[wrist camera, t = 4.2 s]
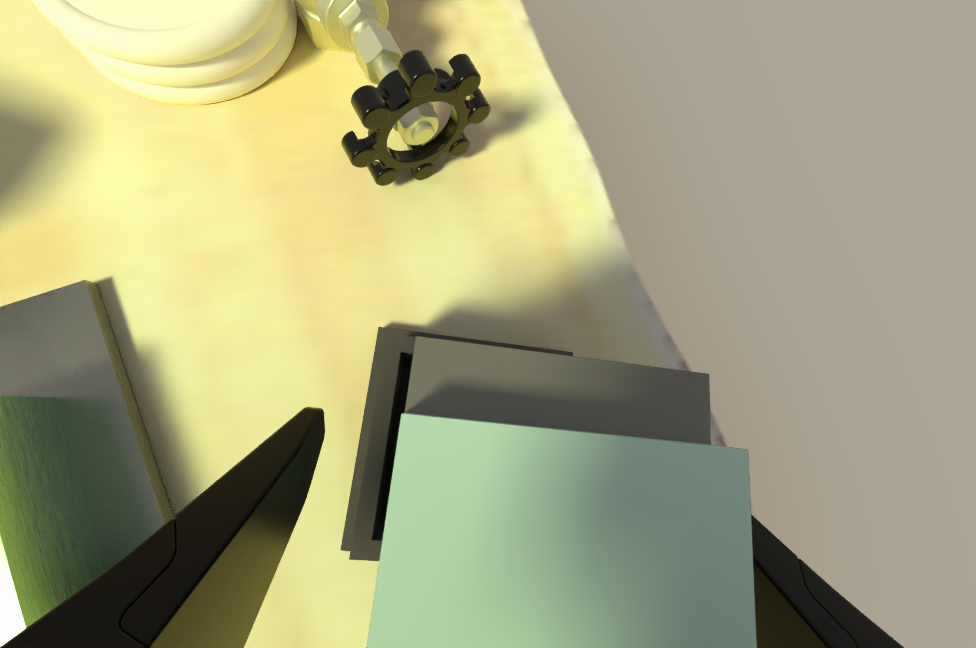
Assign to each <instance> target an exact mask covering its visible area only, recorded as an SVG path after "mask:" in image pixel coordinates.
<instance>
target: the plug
mask: <svg viewBox="0 0 976 648" xmlns="http://www.w3.org/2000/svg"><path fill="white" fill-rule="evenodd" d="M709 394H710V392H709V374H705V373H697V372H689V371H682V370H674V369H666V368H658V367H651V366H643V365H635V364H628V363H620V362H612V361H605V360H597V359H589V358H581V357H574V356H566V355H558V354H551V353H543V352H535V351H528V350H520V349H512V348H504V347H497V346H489V345H481V344H474V343H466V342H458V341H451V340H443V339H435V338H427V337H420V336H416V339H415V346H414V353H413V359H412V366H411V373H410V380H409V386H408V393H407V400H406V407H405V413H402V414H401V420H400V427H399V433H398V440H397V447H396V453H395V460H394V467H393V473H392V480H391V487H390V493H389V500H388V507H387V513H386V520H385V527H384V533H383V540H382V547H381V553H380V560H379V567H378V573H377V580H376V587H375V593H374V600H373V607H372V613H371V620H370V627H369V633H368V640H367V647H366V648H757V644H756V621H755V597H754V573H753V549H752V525H751V502H750V478H749V454H748V450H747V449H739V448H732V447H724V446H717V445H711V438H710V395H709Z"/></svg>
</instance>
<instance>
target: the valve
mask: <svg viewBox="0 0 976 648" xmlns="http://www.w3.org/2000/svg"><path fill="white" fill-rule="evenodd" d="M294 1H295V4H296V8H297V11H298V14H299V17H300V19H301V21H302V23H303V25H304V27H305V29H306V30H307V32H308V34H309V36H310V38H311V40H312V41H313V43H314V45H315V47H317V48H320V49H326V50H334V51H341V52H348V53H354V52H355V54H356V59H357V61H358V63H359V65H360V67H361V68H362V70H363V72H364V74H365V75H366V77H367V79H368V81H369V82H370V83H373V84H378V87H377V88H375V87H374V86H369V85H366V86H362V87H360V88H358V89H357V90H356V91H355V92H354V93H353V95H352V98H351V103H352V106H353V108H354V110H355V111H356V113H357V115H358V117H359V119H360V120H361V122H362V124H363V125H364V127H366V128H367V129H369V130H368V137H366V138H364V139H357V137H356V135H355V133H354V132H353V131H351V132H349V133H347V134H346V135H345V136H344V137H343V139H342V147H343V148H344V150H345V152H346V154H347V156H348V158H349V160H350V161H351V163H352V165H354V166H355V167H359V168H361V167H366V166H367V167H368V169H369V171H370V173H371V175H372V177H373V178H374V180H375V182H376V183H377V184H378V185H381V186H384V185H388V184H390V183H392V182H393V181H394V180H395V179H396V178H397V176H398V172H399V171H401V170H403V169H410V171H411V172H412V174H413V176H414V178H415V179H417V180H423V179H426V178H428V177H429V176H430V175H431V174H432V173H433V172H434V165H433V164H432V162H433V161H434V160H435V159H436V158H437V157H439V156H440V155H442V154H444V153H446V152H449V153H450V155H451V156H453V157H457V156H460V155H462V154H464V153H465V152H466V151H467V150H468V149H469V147H470V141H469V140H468V138H467V136H466V134H465V133H464V131H463V130H464V128H465V127H466V126H467V125H468V124H470V123H471V124H478V123H480V122H482V121H483V120H484V119H486V118H487V116H488V115H489V113H490V105H489V103H488V102H487V100H486V98H485V97H484V95H483V94H482V92H481V90H480V89H479V88H478V87H479V85H480V82H481V77H480V74H479V73H478V71H477V69H476V68H475V66H474V65H473V63H472V61H471V60H470V58H469V56H467V55H466V54H458V55H456V56H454V57H453V58H452V59H451V60H450V61H449V64H450V65H451V67H452V69H453V70H454V72H453V74H452V76H450V75H449V74H448V73H447V72H446V71H444V70H442V69H437V68H434V69H433V68H432V66H431V64H430V63H429V61H428V59H427V58H426V56H425V54H424V53H423V52H422V51H419V50H412V51H409V52H407V53H406V54H405V55H404V56H403V57H402V52H401V50H400V48H399V47H398V45H397V43H396V42H395V40H394V38H393V36H392V35H391V33H390V31H389V30H388V29H386V28H387V26H388V21H389V9H388V5H387V2H386V0H294ZM469 95H470V100H465V98H466V96H469ZM434 101H442V102H447V103H449V104H451V107H452V109H451V115H450V118H449V120H448V122H447V124H446V126H445V127H444V128H443V130H442V131H441V132H440V133H439V134H438V135H437V136H436V137H435V138H434V139H432V140H431V141H430V142H428V143H426V144H425V145H423V146H422V144H423V143H425V142H427V141H429V140H430V139H431V138H432V137H433V136H434V135H435V134H436V132H437V131H438V116H437V114H436V113H435V111H434V109H433V103H432V102H434ZM392 128H394V129H395V130H396V131H398V132H399V133H400V135H401V137H402V139H403V141H404V142H405V144H407V146H408V148H409V150H408V151H396V150H392V149H390V148H388V147H387V139H388V135H389V133H390V131H391V129H392ZM375 160H379V162H377V161H375Z"/></svg>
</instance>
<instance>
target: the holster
mask: <svg viewBox="0 0 976 648" xmlns="http://www.w3.org/2000/svg"><path fill="white" fill-rule="evenodd" d="M416 336H420V337H427V338H435V339H443V340H451V341H458V342H466V343H474V344H481V345H489V346H497V347H504V348H512V349H520V350H528V351H535V352H543V353H551V354H558V355H566V356H573V352H566V351H558V350H550V349H543V348H535V347H527V346H520V345H512V344H505V343H497V342H489V341H482V340H474V339H466V338H459V337H451V336H444V335H436V334H428V333H421V332H413V331H406V330H398V329H390V328H383V327H379V328H378V334H377V340H376V346H375V352H374V358H373V364H372V369H371V375H370V381H369V387H368V393H367V399H366V405H365V410H364V416H363V422H362V428H361V434H360V440H359V446H358V451H357V457H356V463H355V469H354V475H353V481H352V486H351V492H350V498H349V504H348V510H347V516H346V522H345V527H344V533H343V539H342V545H341V550H343V551H351V552H350V558H349V559H351V560H369V561H379V560H380V553H381V547H382V540H383V533H384V527H385V520H386V513H387V507H388V500H389V493H390V487H391V480H392V473H393V467H394V460H395V453H396V447H397V440H398V433H399V427H400V420H401V414H402V413H405V407H406V400H407V393H408V386H409V380H410V373H411V366H412V359H413V353H414V346H415V339H416Z"/></svg>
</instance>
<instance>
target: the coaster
mask: <svg viewBox="0 0 976 648" xmlns="http://www.w3.org/2000/svg"><path fill="white" fill-rule="evenodd" d="M32 2H33V3H34V5H35V6H36V7H37V9H38V10H39V11H40V12H41V14H42V15H43V16H44V17H45V18H46V19H47V20H48V21H49V22H50V23H51V24H53V25H54V26H55V27H56V28H58V29H59V30H60V32H61V33H62V34H63V35H64V37H65V38H66V39H67V40H68V41H69V42H70V43H71V44H72V45H73V46H74V47H75V48H76V49H77V50H78V51H80V52H81V53H82V54H83V55H84V57H85V58H86V59H87V61H88V62H89V63H90V64H91V65H92V66H93V67H94V68H95V69H96V70H97V71H99V72H100V73H101V74H103V75H104V76H105V77H107V78H108V79H109V80H111V81H113V82H114V83H116V84H118V85H119V86H121V87H123V88H124V89H126V90H128V91H130V92H132V93H134V94H137V95H139V96H142V97H145V98H148V99H151V100H154V101H159V102H164V103H169V104H179V105H202V104H211V103H216V102H221V101H226V100H229V99H232V98H235V97H238V96H241V95H243V94H245V93H248V92H250V91H252V90H254V89H255V88H257V87H258V86H260V85H262V84H263V83H265V82H266V81H267V80H268V79H270V78H271V77H272V76H273V75H274V74H275V73H276V72H277V71H278V70H279V69H280V68H281V67H282V66H283V64H284V63H285V61H286V60H287V58H288V56H289V55H290V52H291V50H292V48H293V45H294V42H295V38H296V30H297V16H296V8H295V4H294V0H32Z"/></svg>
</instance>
